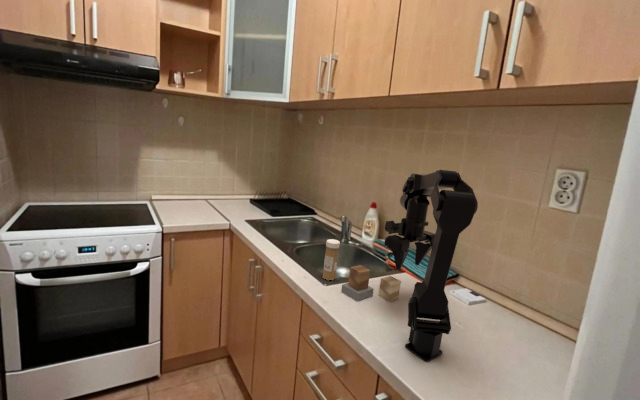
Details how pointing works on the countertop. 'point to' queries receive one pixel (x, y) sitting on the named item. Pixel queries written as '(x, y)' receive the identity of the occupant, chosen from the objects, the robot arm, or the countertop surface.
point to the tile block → (357, 292)
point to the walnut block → (359, 277)
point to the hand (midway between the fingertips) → (407, 267)
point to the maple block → (389, 288)
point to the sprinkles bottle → (331, 259)
